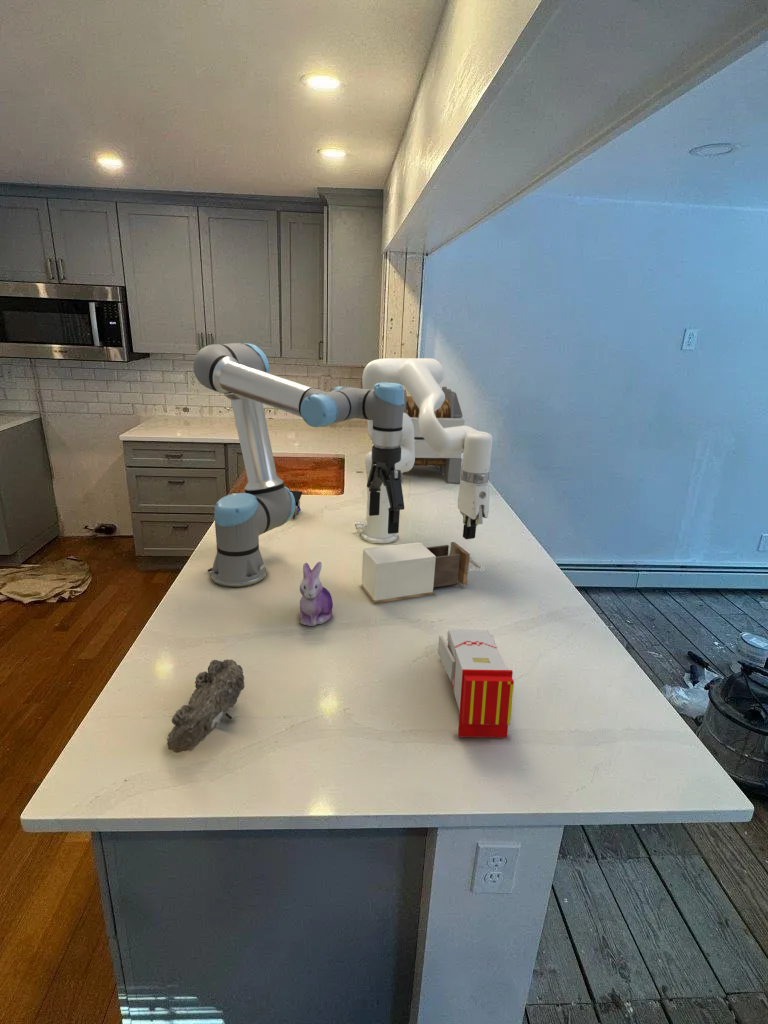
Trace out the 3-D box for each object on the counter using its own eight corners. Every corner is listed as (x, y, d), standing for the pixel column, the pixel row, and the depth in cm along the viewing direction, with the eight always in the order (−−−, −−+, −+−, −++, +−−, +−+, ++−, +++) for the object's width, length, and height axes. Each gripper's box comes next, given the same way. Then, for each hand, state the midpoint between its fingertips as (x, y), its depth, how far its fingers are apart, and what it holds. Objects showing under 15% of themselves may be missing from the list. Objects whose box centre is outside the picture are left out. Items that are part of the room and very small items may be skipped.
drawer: (467, 569, 173) (470, 539, 169) (483, 582, 165) (487, 551, 161) (402, 578, 165) (404, 547, 162) (415, 592, 157) (418, 560, 154)
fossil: (192, 660, 117) (244, 628, 112) (224, 691, 120) (276, 661, 115) (142, 746, 98) (202, 712, 93) (182, 779, 101) (242, 748, 96)
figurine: (305, 631, 137) (304, 575, 132) (291, 611, 146) (290, 558, 141) (340, 623, 142) (342, 569, 137) (325, 604, 150) (326, 552, 145)
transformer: (382, 463, 289) (386, 382, 275) (445, 464, 293) (451, 384, 279) (390, 482, 257) (394, 392, 243) (460, 483, 261) (468, 394, 247)
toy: (488, 613, 130) (523, 677, 101) (484, 667, 133) (517, 744, 104) (435, 612, 130) (455, 676, 101) (432, 666, 133) (451, 743, 103)
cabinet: (417, 578, 168) (419, 541, 164) (432, 594, 158) (435, 556, 155) (361, 586, 161) (362, 548, 157) (374, 603, 152) (376, 564, 148)
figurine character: (298, 524, 207) (303, 507, 221) (298, 506, 204) (302, 489, 217) (280, 524, 207) (285, 506, 220) (279, 505, 204) (285, 488, 217)
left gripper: (421, 456, 134) (415, 539, 141) (382, 434, 156) (379, 507, 163) (392, 458, 132) (387, 542, 139) (356, 435, 153) (354, 509, 160)
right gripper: (501, 483, 152) (493, 546, 158) (473, 468, 165) (467, 527, 171) (477, 485, 149) (470, 549, 155) (450, 470, 162) (445, 529, 168)
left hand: (383, 523), depth 151 cm, fingers open, 13 cm apart
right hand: (468, 537), depth 163 cm, fingers closed
